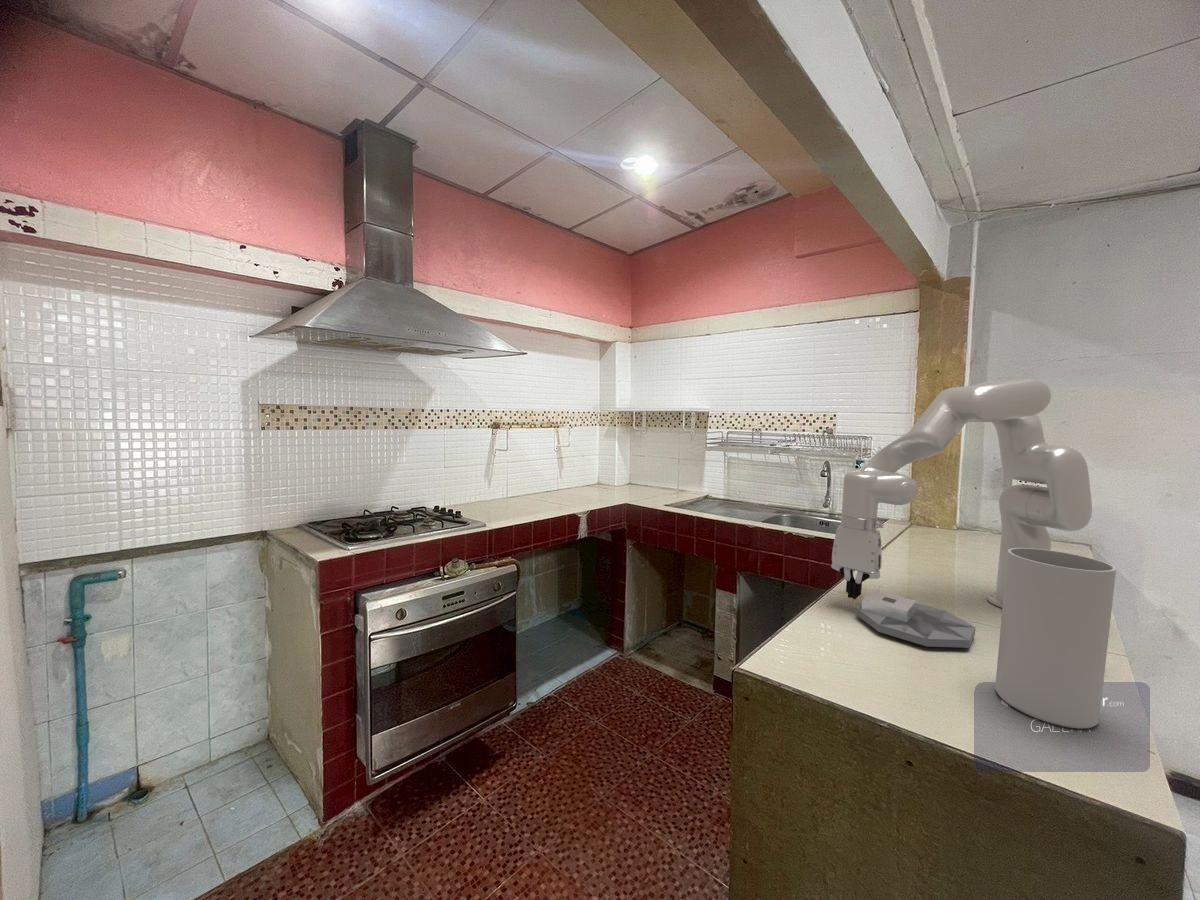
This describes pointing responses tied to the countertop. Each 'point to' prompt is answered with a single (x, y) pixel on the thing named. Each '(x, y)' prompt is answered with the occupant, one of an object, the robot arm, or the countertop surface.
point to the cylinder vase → (1055, 635)
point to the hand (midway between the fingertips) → (853, 596)
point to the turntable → (924, 627)
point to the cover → (889, 605)
